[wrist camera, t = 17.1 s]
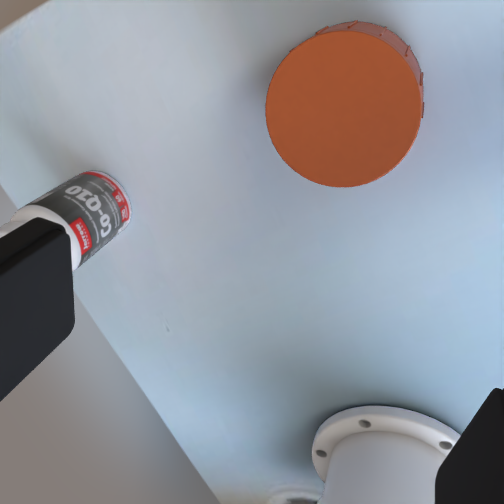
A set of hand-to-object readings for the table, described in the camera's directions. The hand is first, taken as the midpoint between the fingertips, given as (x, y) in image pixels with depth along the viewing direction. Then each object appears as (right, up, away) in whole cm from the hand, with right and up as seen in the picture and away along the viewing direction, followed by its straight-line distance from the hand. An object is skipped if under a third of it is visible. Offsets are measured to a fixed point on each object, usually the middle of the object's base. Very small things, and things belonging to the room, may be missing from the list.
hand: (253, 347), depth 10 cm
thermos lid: (+5, +10, +14) cm, 17 cm away
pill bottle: (-10, +6, +22) cm, 25 cm away
